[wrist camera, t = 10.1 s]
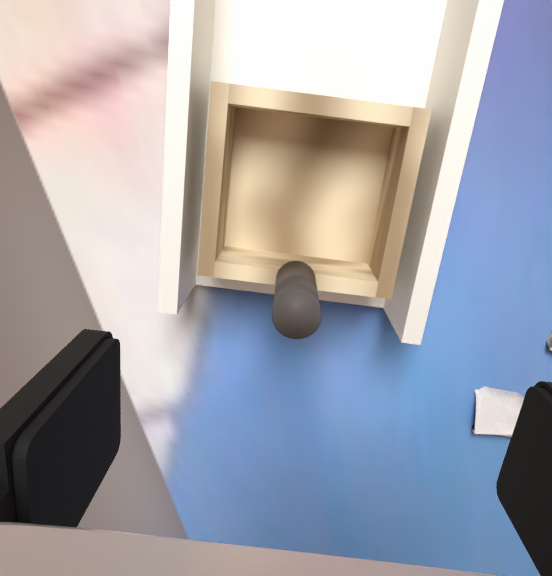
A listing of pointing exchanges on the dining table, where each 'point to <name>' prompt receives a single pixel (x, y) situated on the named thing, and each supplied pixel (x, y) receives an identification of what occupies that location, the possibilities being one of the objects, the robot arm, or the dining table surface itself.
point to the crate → (307, 195)
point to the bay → (336, 83)
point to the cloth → (498, 409)
